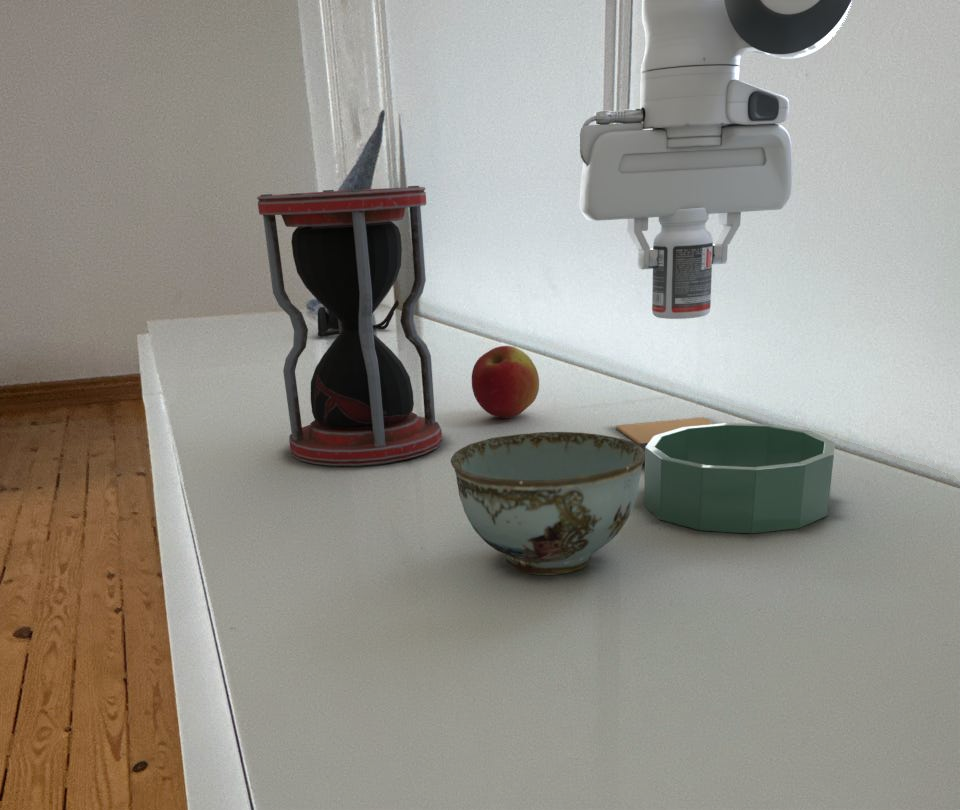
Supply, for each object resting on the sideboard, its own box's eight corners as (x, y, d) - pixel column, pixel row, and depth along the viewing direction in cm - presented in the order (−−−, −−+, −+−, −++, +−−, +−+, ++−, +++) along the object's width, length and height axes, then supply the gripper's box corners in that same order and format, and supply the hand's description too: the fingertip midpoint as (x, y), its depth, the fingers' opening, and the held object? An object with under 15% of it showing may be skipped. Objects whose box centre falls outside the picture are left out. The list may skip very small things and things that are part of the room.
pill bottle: (717, 312, 101) (723, 205, 96) (698, 320, 96) (703, 208, 92) (663, 311, 103) (666, 206, 99) (642, 319, 99) (645, 210, 95)
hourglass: (420, 422, 115) (402, 185, 105) (461, 454, 101) (445, 185, 91) (280, 439, 111) (247, 194, 101) (303, 475, 97) (267, 195, 87)
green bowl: (777, 472, 90) (782, 417, 88) (863, 521, 77) (871, 458, 75) (623, 488, 88) (624, 432, 86) (684, 541, 75) (687, 477, 73)
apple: (462, 415, 118) (458, 346, 114) (524, 406, 121) (522, 338, 117) (487, 428, 111) (484, 354, 108) (552, 418, 114) (551, 346, 111)
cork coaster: (702, 419, 110) (703, 417, 110) (741, 440, 101) (741, 437, 101) (615, 428, 109) (615, 425, 108) (646, 450, 100) (647, 447, 100)
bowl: (583, 610, 64) (582, 490, 61) (419, 574, 72) (411, 465, 68) (674, 546, 74) (678, 440, 71) (522, 520, 82) (519, 423, 78)
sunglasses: (388, 337, 178) (386, 308, 176) (311, 339, 181) (308, 310, 179) (411, 323, 193) (409, 296, 191) (339, 325, 196) (336, 298, 193)
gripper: (589, 109, 88) (589, 276, 93) (806, 99, 91) (793, 261, 97) (570, 113, 93) (571, 270, 99) (775, 104, 96) (764, 257, 102)
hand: (682, 266), depth 98 cm, fingers closed on pill bottle, 6 cm apart
